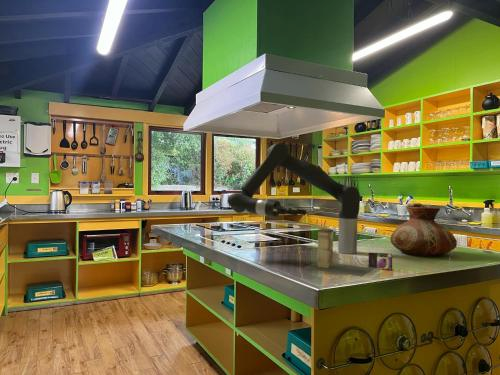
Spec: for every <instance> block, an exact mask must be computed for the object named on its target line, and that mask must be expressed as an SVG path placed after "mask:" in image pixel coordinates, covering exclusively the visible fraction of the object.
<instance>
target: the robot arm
mask: <svg viewBox="0 0 500 375" xmlns="http://www.w3.org/2000/svg"><path fill="white" fill-rule="evenodd" d="M278 166H279V167H282V168H283V169H284V170H288V171H289V172H291V173H292V174H294V175H295V176H297V177H298V178H300V179H302V180H303V181H304V182H307V183H308V184H309V185H312V186H313V187H314V188H317V189H319V190H321V191H323V192H325V193H327V194H329V195H330V196H331V197H332V198H334V199H335V200H336V201H338V202H339V203H340V204H341V210H340V211H339V212H338V234H337V235H338V236H337V237H338V239H337V240H338V242H337V247H338V248H337V250H338V253H341V254H347V255H348V254H349V255H351V254H353V255H354V254H357V253H358V216H359V213H360V209H361V208H360V205H361V203H360V202H361V195H360V194H361V193H360V190H358V188H357V187H356V186H350V185H343V184H342V183H339V182H337V181H336V180H335V179H333V178H332V177H331V176H330V175H329V174H328V173H327V172H326V171H325V170H324V169H322V168H321V167H319V166H317V165H316V164H315V163H312V162H309V161H306V160H303V159H300V158H298V157H295V156H293V155H291V154H290V149H289V147H288V146H287V144H285V143H283V142H276V143H274V144H272V145H270V146H269V147H268V148H267V150H266V157H265V160H264V161H262V163H261V164H260V165H259V166H258V167H257V168H256V169H255V170H254V171H253V172H252V173H251V174H250V175H249V177H248V178H247V179H246V180H245V182H243V184H242V185H241V186H240V187H241V188H240V189H241V193H239V192H235V193H231V194H230V195H229V196H227V204H228V205H229V207H230V208H231V209H232V210H233V211H234V212H235V213H237V214H240V213H243V212H245V211H246V212H248V213H251V214H255V215H260V216H265V217H269V218H278V217H279V216H280V215H281V216H288V215H290V216H294V217H295V216H298V215H301V216H306V215H307V214H306V213H307V210H305V209H300V208H298V207H294V206H288V205H281V201H279V200H275V199H267V198H258V197H254V195H255V194H256V193H257V191H258V190H259V189H260V188H261V186H263V184H264V182H265V181H266V180H267V178H268V177H269V176H270V175H271V173H272V172H273V171H274V170H275V169H276V168H277V167H278Z"/></svg>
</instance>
